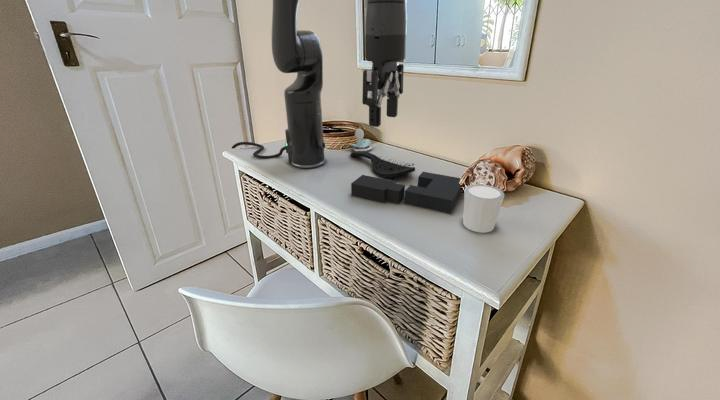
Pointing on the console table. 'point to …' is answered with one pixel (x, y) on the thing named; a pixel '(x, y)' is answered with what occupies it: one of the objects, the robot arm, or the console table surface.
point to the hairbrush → (385, 165)
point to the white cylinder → (481, 207)
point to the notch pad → (434, 192)
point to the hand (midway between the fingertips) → (383, 121)
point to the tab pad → (377, 189)
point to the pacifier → (361, 142)
